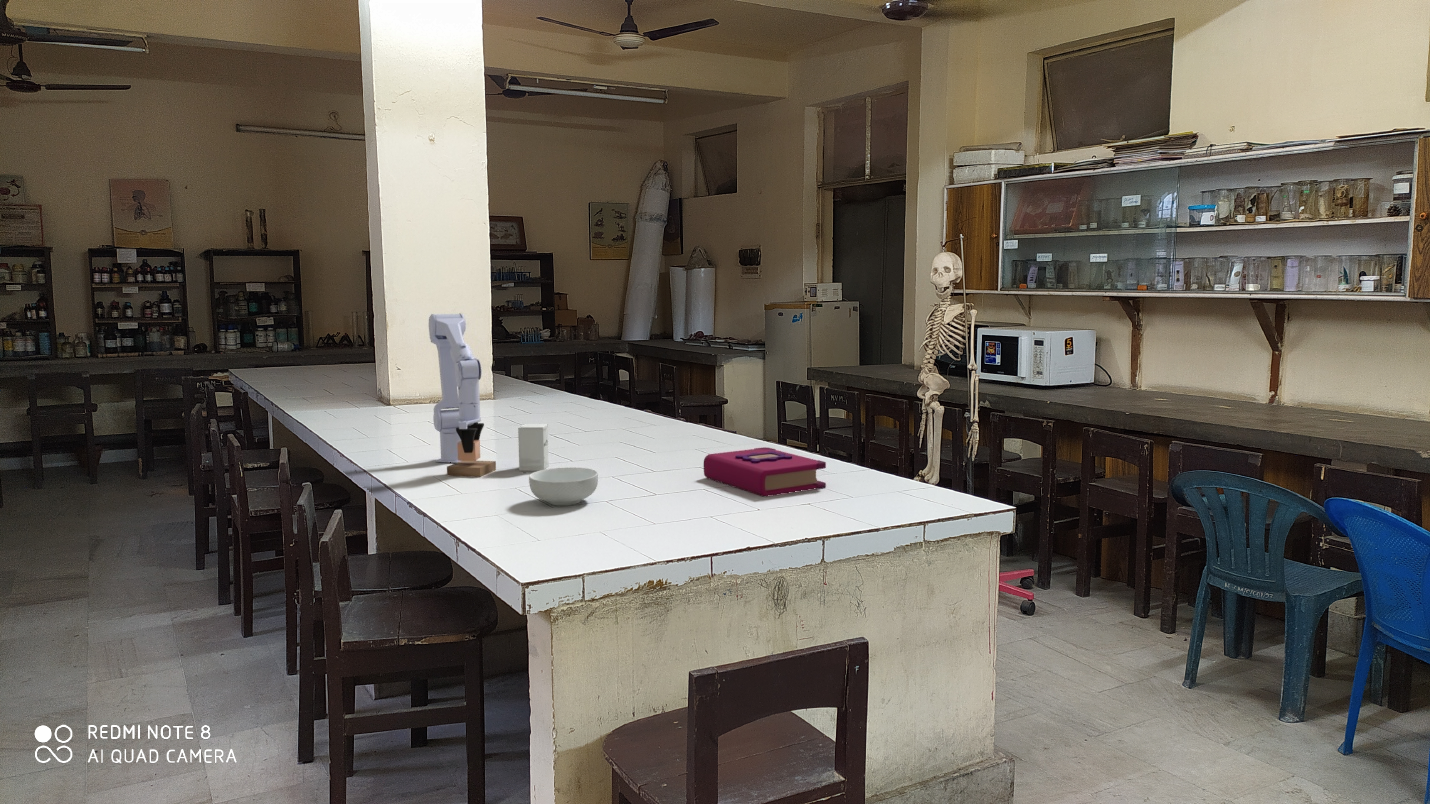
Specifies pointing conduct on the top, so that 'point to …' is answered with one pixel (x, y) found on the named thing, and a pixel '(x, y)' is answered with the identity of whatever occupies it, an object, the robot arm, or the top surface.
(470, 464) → the walnut slab
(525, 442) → the supplement box
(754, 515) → the top surface
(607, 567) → the top surface
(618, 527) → the top surface
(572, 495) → the cereal bowl
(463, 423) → the robot arm
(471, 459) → the terracotta cube
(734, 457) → the book
